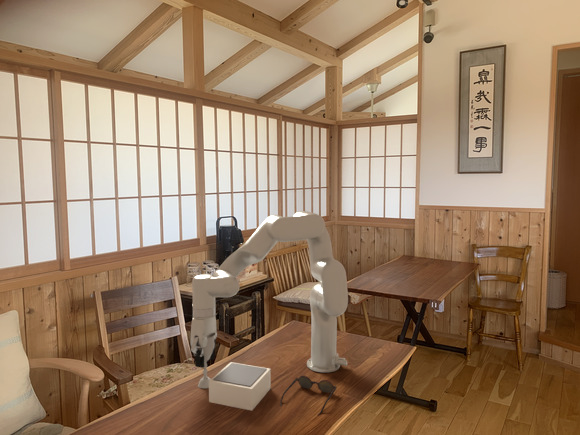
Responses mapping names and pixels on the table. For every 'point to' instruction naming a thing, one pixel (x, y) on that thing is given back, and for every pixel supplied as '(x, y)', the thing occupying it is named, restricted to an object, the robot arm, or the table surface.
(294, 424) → the table surface
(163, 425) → the table surface
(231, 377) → the display plinth
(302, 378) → the eyeglasses
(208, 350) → the chalice
